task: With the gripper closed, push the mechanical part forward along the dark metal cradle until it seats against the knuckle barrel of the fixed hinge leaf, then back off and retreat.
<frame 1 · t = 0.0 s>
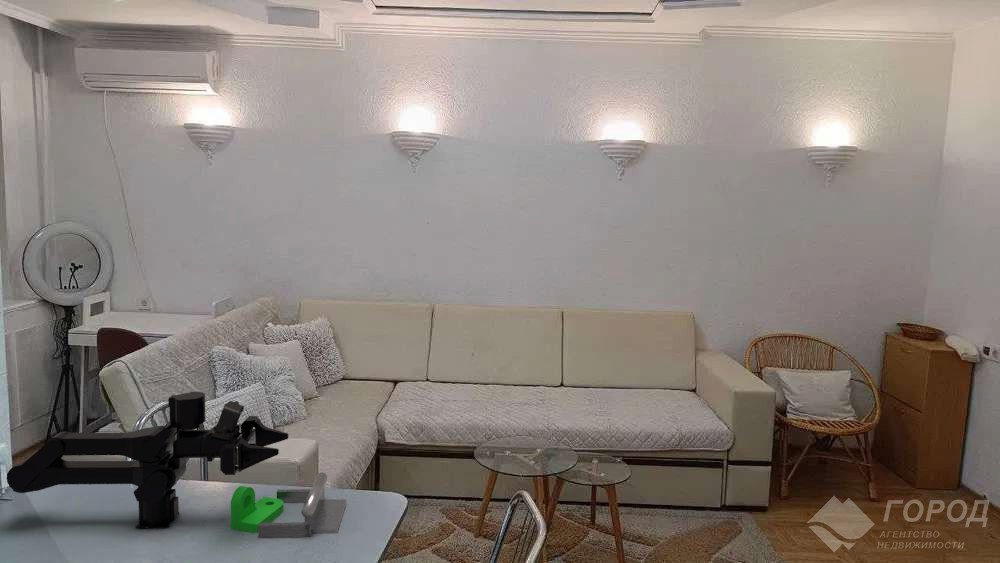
hand: (283, 443, 144), 17 cm above the table, tool horizontal, fingers open, 9 cm apart
mechanical part: (260, 520, 147), on the table
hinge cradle: (295, 517, 147), on the table
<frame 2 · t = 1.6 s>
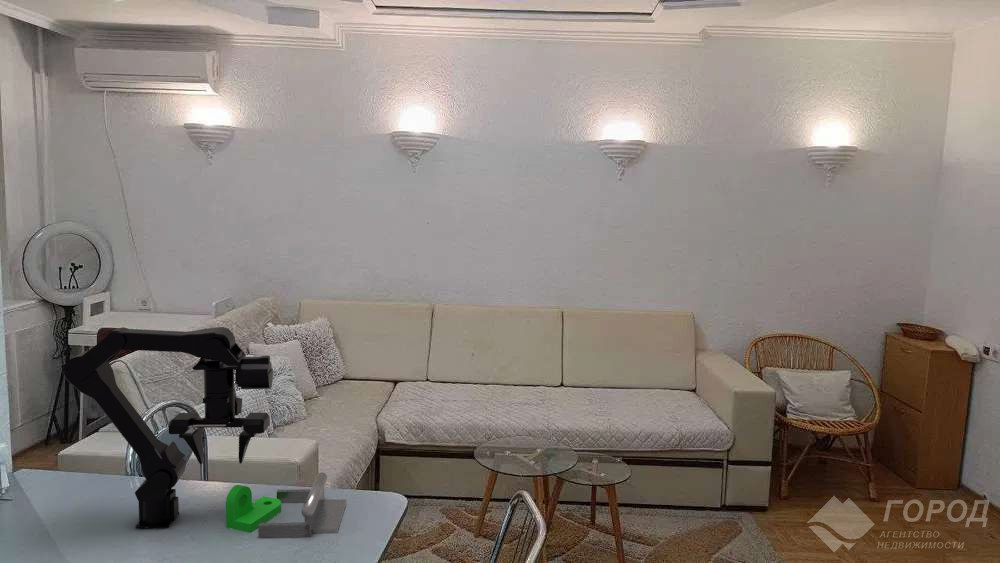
hand: (221, 463, 144), 12 cm above the table, tool pointing down, fingers open, 8 cm apart
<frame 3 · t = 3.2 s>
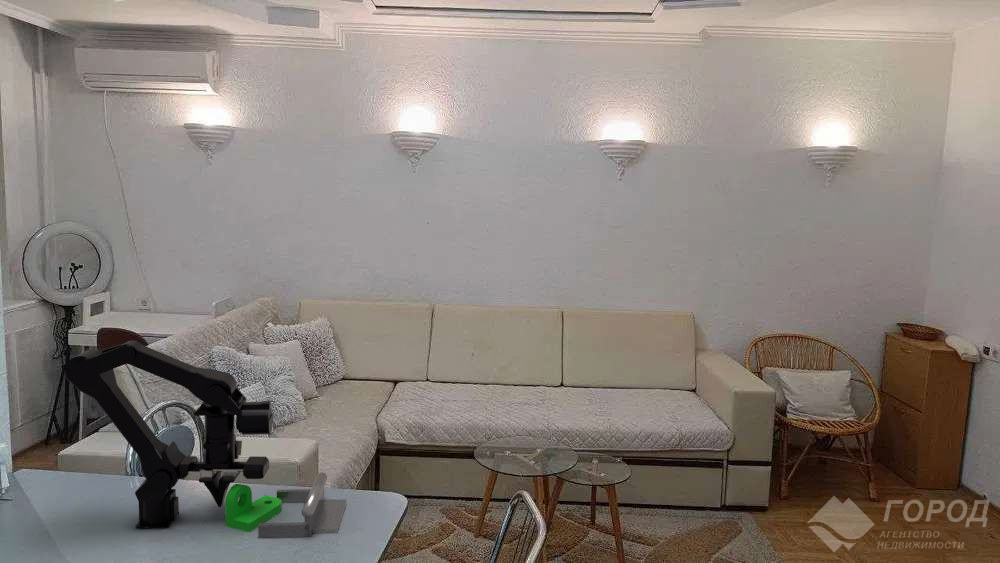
hand: (220, 506, 146), 3 cm above the table, tool pointing down, fingers closed
mechanical part: (257, 518, 147), on the table, touching gripper
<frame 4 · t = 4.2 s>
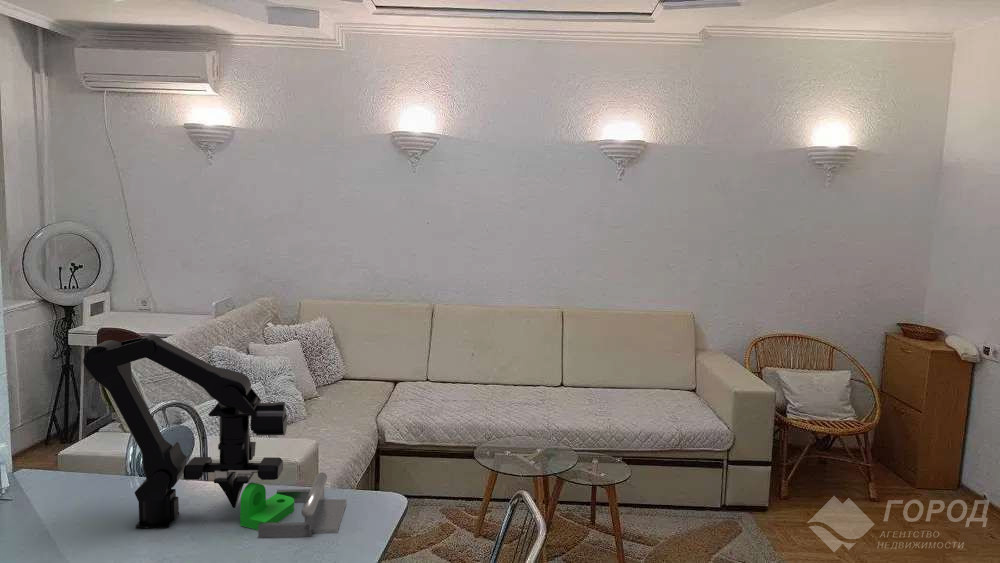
hand: (234, 507, 146), 2 cm above the table, tool pointing down, fingers closed
mechanical part: (270, 517, 147), on the table, touching gripper
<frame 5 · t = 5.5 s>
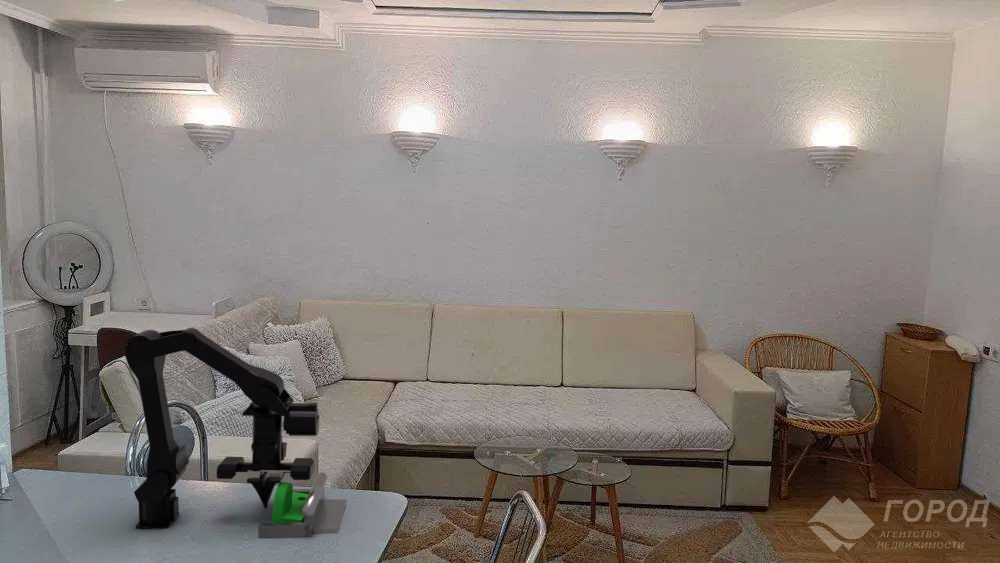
hand: (266, 507, 146), 2 cm above the table, tool pointing down, fingers closed
mechanical part: (295, 515, 148), on the table, touching gripper, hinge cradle
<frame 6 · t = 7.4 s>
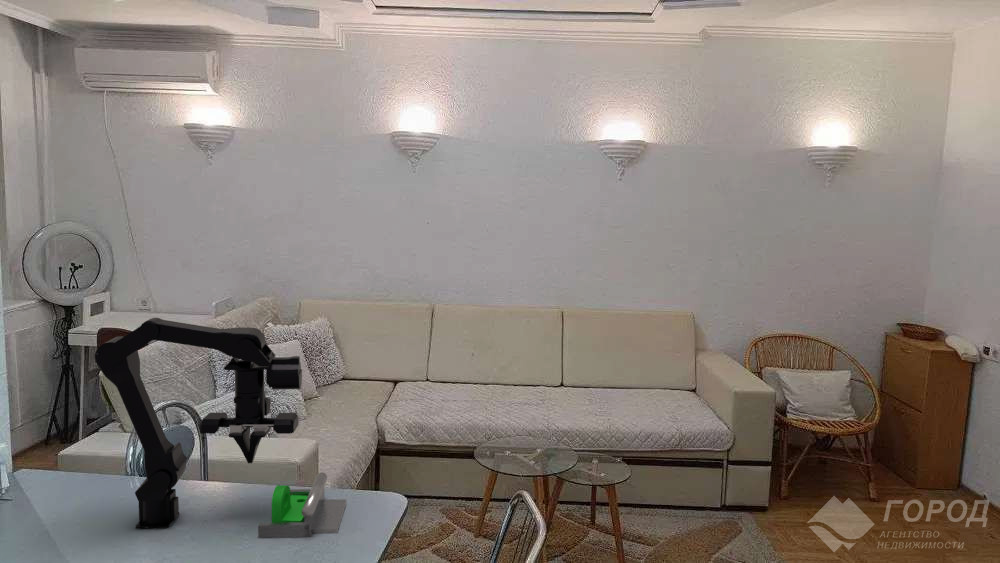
hand: (250, 462, 145), 12 cm above the table, tool pointing down, fingers closed
mechanical part: (296, 517, 148), on the table, touching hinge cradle
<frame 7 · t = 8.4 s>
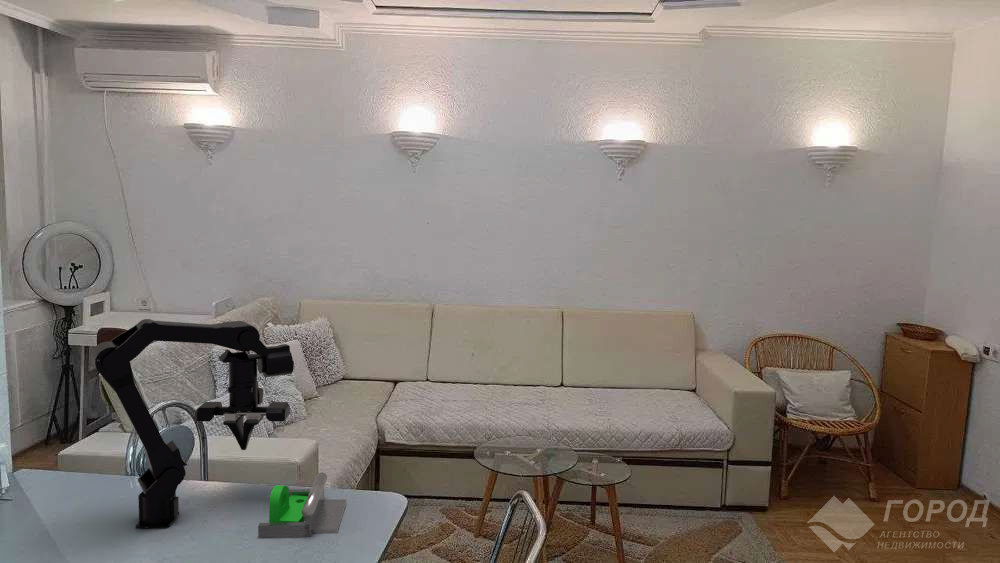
hand: (244, 449, 152), 12 cm above the table, tool pointing down, fingers closed
mechanical part: (294, 517, 148), on the table
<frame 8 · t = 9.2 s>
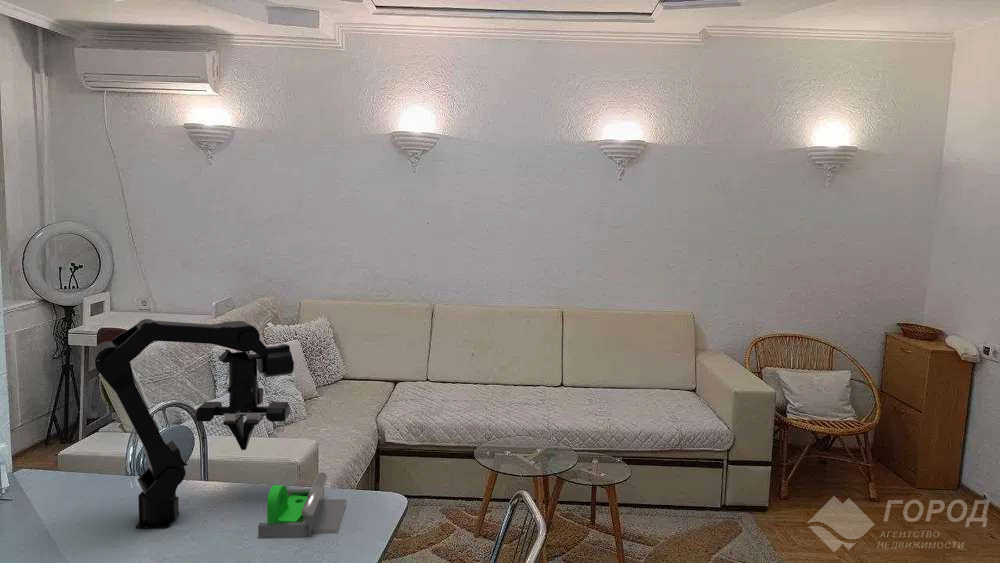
hand: (244, 449, 152), 12 cm above the table, tool pointing down, fingers closed
nothing on the table moved.
at the end: mechanical part 1.1 cm from the target spot, on the table; mechanical part moved 6.4 cm from its start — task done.
